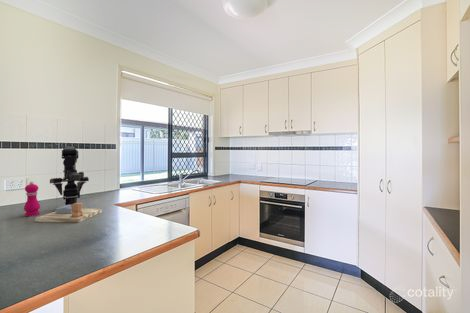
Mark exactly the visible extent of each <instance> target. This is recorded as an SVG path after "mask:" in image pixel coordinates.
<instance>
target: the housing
mask: <svg viewBox="0 0 470 313" xmlns="http://www.w3.org/2000/svg"><path fill="white" fill-rule="evenodd" d="M55 211H56V214H72V205H62V206H59V207H56V208H55Z"/></svg>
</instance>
